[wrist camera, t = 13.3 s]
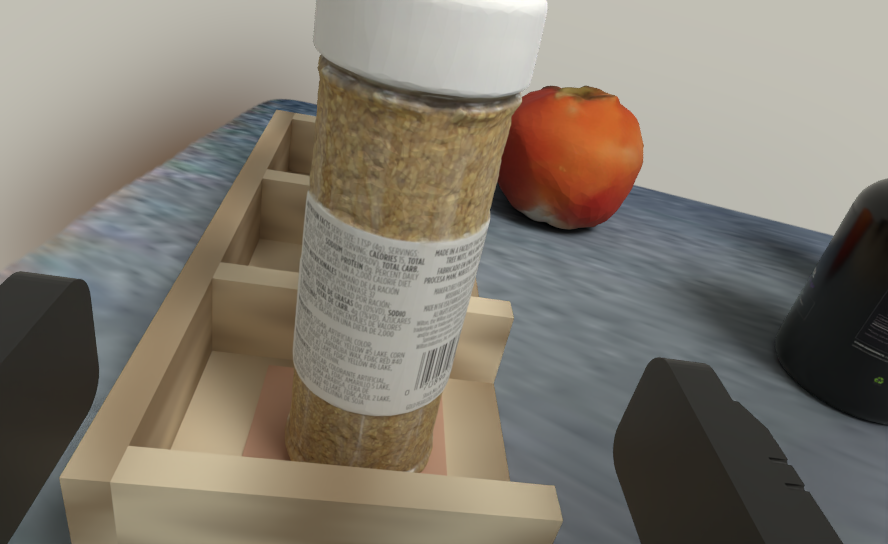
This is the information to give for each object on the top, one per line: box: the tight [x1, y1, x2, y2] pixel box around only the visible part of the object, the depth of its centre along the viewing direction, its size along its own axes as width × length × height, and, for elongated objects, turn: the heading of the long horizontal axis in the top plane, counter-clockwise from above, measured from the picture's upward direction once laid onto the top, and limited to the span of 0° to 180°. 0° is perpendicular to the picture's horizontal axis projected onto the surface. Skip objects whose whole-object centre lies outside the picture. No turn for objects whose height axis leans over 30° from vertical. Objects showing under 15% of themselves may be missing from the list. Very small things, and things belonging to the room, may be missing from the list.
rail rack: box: [59, 110, 563, 544], centre depth 23 cm, size 11×25×13 cm, turn 3°
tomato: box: [497, 86, 644, 229], centre depth 38 cm, size 9×9×8 cm
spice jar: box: [285, 0, 548, 473], centre depth 16 cm, size 5×5×14 cm
